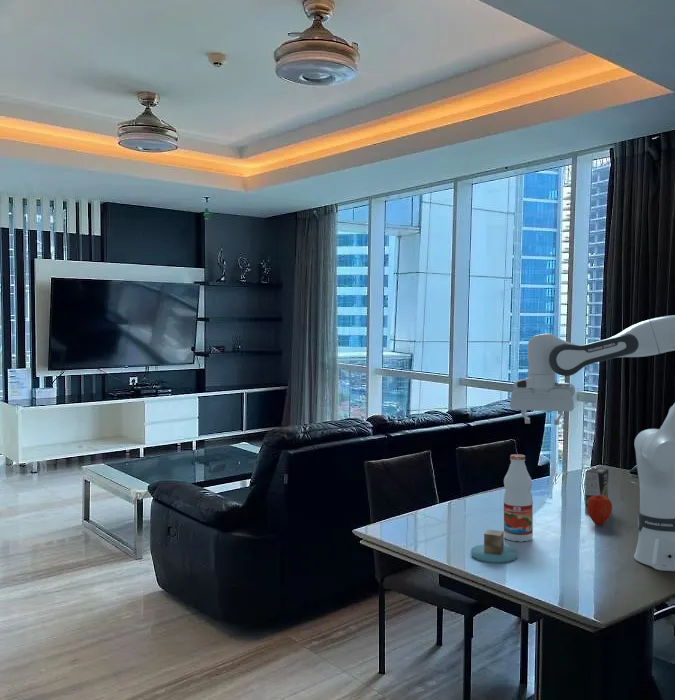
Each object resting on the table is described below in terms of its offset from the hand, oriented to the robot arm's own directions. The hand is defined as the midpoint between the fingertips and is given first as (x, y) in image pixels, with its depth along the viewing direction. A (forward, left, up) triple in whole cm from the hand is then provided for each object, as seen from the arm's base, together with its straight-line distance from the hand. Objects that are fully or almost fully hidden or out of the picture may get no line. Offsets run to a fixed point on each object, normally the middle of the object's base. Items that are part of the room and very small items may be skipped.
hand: (542, 424), depth 226 cm
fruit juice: (+8, +2, -39) cm, 40 cm away
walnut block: (+12, +22, -38) cm, 45 cm away
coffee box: (-14, -40, -39) cm, 58 cm away
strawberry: (-16, -23, -39) cm, 48 cm away
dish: (+12, +22, -39) cm, 46 cm away
